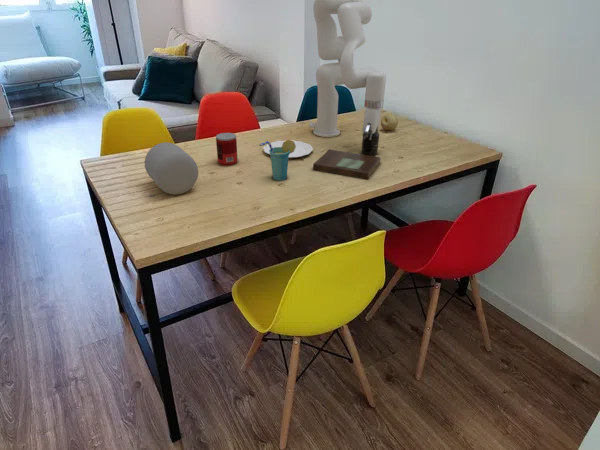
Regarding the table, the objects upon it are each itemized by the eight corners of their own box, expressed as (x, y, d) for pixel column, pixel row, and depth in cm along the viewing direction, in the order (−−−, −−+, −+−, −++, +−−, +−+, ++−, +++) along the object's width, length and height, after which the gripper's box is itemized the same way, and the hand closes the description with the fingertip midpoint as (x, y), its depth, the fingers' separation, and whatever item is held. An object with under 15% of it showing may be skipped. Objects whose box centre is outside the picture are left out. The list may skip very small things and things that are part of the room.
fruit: (378, 128, 222) (379, 112, 218) (394, 128, 223) (396, 111, 219) (382, 133, 215) (384, 116, 211) (399, 132, 216) (401, 116, 212)
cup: (266, 185, 161) (265, 145, 153) (256, 178, 166) (254, 139, 159) (299, 177, 167) (299, 139, 160) (288, 171, 173) (288, 133, 165)
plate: (284, 164, 178) (284, 160, 177) (253, 150, 192) (253, 147, 191) (322, 153, 190) (322, 149, 190) (291, 140, 204) (291, 137, 203)
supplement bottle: (378, 156, 188) (381, 128, 182) (362, 156, 188) (364, 128, 182) (376, 150, 194) (379, 123, 188) (360, 150, 194) (362, 123, 188)
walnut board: (313, 169, 174) (313, 163, 173) (328, 154, 189) (329, 148, 187) (368, 179, 167) (368, 172, 165) (380, 163, 181) (380, 156, 180)
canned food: (241, 160, 182) (239, 134, 176) (230, 167, 175) (228, 140, 170) (225, 157, 184) (223, 131, 179) (214, 164, 178) (211, 137, 173)
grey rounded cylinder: (136, 190, 145) (127, 154, 163) (171, 213, 155) (158, 177, 173) (177, 150, 142) (163, 118, 160) (209, 175, 152) (193, 143, 170)
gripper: (370, 98, 189) (367, 137, 197) (358, 107, 175) (355, 150, 183) (388, 100, 186) (383, 140, 195) (377, 110, 172) (373, 152, 181)
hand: (370, 144), depth 189 cm, fingers open, 8 cm apart
